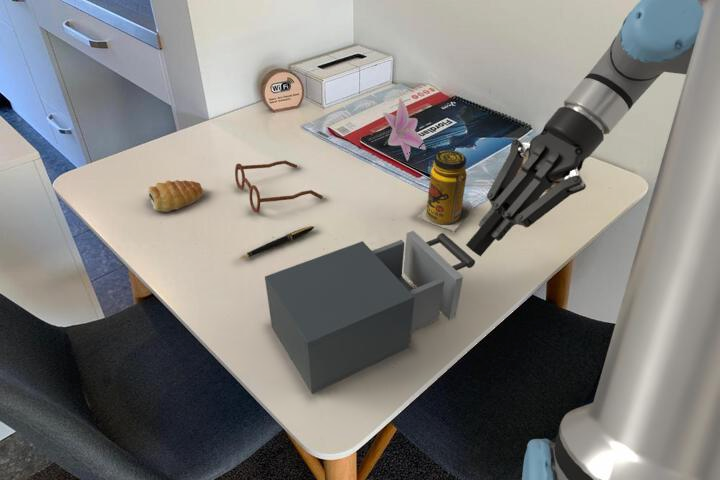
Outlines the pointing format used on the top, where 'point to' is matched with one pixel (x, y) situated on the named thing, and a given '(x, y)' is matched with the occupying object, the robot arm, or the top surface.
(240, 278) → the top surface
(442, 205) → the condiment
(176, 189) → the pastry
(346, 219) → the top surface
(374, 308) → the cabinet
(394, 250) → the drawer
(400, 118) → the lily
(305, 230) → the fountain pen
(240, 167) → the glasses
